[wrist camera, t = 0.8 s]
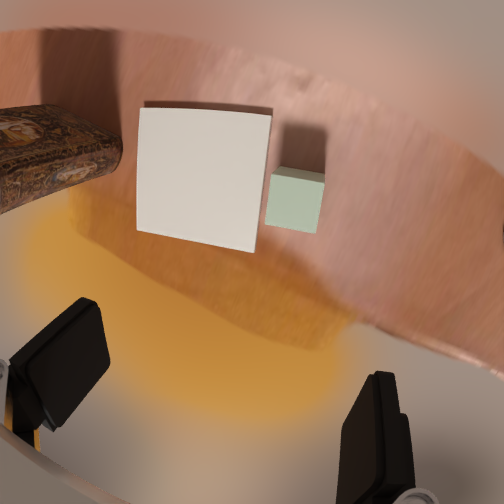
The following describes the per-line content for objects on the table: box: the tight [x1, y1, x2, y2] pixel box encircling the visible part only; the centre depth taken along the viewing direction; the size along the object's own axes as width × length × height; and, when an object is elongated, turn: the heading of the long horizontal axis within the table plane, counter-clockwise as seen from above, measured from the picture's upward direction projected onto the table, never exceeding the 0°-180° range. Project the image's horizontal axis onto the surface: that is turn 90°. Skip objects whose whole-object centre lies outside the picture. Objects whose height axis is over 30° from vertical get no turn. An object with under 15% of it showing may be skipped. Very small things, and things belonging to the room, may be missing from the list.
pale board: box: [137, 108, 273, 253], centre depth 36 cm, size 16×16×1 cm
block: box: [265, 166, 325, 234], centre depth 32 cm, size 5×5×6 cm
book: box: [0, 104, 123, 214], centre depth 27 cm, size 16×6×25 cm, turn 62°
